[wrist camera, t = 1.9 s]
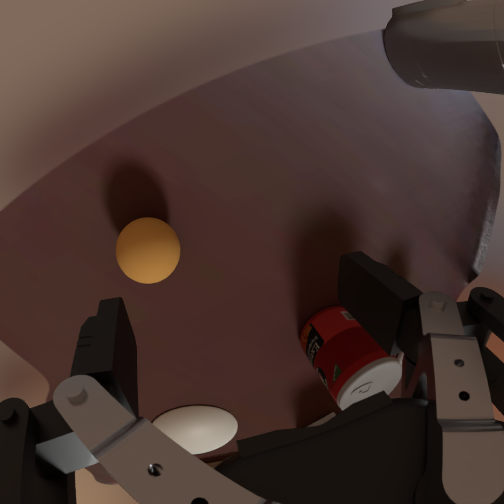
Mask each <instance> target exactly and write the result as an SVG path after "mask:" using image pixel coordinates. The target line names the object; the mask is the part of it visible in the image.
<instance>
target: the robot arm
mask: <svg viewBox="0 0 504 504" xmlns="http://www.w3.org/2000/svg"><path fill="white" fill-rule="evenodd" d="M392 13H393V14H392V18H391V19H390V21H389V22H388V24H387V26H386V29H385V36H384V39H385V48H386V53H387V56H388V58H389V61H390V63H391V65H392V67H393V69H394V70H395V71H396V73H397V74H398V75H399V77H401V78H402V79H403V80H404V81H405V82H406V83H408V84H409V85H411V86H414V87H417V88H428V89H453V90H465V91H476V92H485V93H494V94H501V95H504V0H471V1H467V0H424V1H420V2H416V3H412V4H408V5H404V6H400V7H396V8H393V9H392ZM338 298H339V301H340V303H341V305H342V306H343V307H344V308H345V309H346V310H347V311H348V312H349V314H350V315H351V316H352V317H353V318H354V319H355V320H356V321H357V322H358V323H359V324H360V325H361V326H362V327H363V328H364V329H365V330H366V332H367V333H368V334H369V335H370V336H371V337H372V338H373V339H374V340H375V341H376V342H377V343H378V344H379V345H380V347H381V348H382V349H383V350H384V351H385V352H386V353H387V354H388V355H389V356H393V355H395V354H397V353H400V352H403V353H404V356H403V359H402V386H401V398H394V399H391V398H390V397H389V396H388V395H387V394H386V392H385V391H384V390H383V391H381V392H379V393H376V394H374V395H372V396H370V397H367V398H365V399H363V400H360V401H358V402H355V403H353V404H351V405H350V406H349V407H347V408H346V409H344V410H343V411H341V412H340V413H339V414H337V415H336V416H334V417H333V418H331V419H330V420H328V421H327V422H325V423H324V424H321V425H318V426H311V427H303V428H294V429H283V430H275V431H272V432H268V433H265V434H261V435H257V436H254V437H250V438H246V439H242V440H238V441H236V442H237V447H238V452H237V453H235V454H233V455H231V456H229V457H228V458H226V459H225V460H223V461H222V462H221V463H219V464H218V465H217V466H216V467H214V468H211V467H210V466H208V465H207V464H205V463H204V462H202V461H201V460H200V459H198V458H197V457H195V456H194V455H192V454H191V453H190V452H188V451H187V450H185V449H184V448H183V447H181V446H180V445H179V444H177V443H176V442H175V441H173V440H172V439H171V438H170V437H168V436H167V435H166V434H164V433H163V432H162V431H161V430H159V429H158V428H157V427H156V426H154V425H153V424H152V423H151V422H149V421H148V420H147V419H145V418H144V417H139V410H138V386H137V346H136V341H135V336H134V333H133V330H132V327H131V324H130V321H129V318H128V314H127V311H126V308H125V305H124V302H123V299H122V298H121V297H118V298H112V299H106V300H101V301H100V303H99V308H98V312H97V316H93V317H89V318H88V319H87V320H86V321H85V323H84V324H83V325H82V327H81V330H80V334H79V339H78V342H77V348H76V351H75V355H74V360H73V364H72V369H71V374H70V378H68V379H66V380H64V381H63V382H62V383H60V384H59V386H58V387H57V388H56V390H55V392H54V395H53V400H52V401H49V402H47V403H44V404H42V405H38V406H36V407H33V408H29V407H28V405H27V404H26V403H25V402H24V401H23V400H22V399H19V398H9V399H6V400H4V401H2V402H1V403H0V504H76V489H75V471H76V470H79V469H82V468H84V467H87V466H90V465H93V464H95V463H98V462H99V463H100V464H101V465H102V466H103V468H104V469H105V470H106V471H107V472H108V473H109V474H110V475H111V476H112V477H113V478H114V479H115V480H116V482H117V483H118V484H119V485H120V486H121V487H122V488H123V489H124V490H125V491H126V492H127V493H128V494H129V495H130V496H131V497H132V498H134V499H135V500H136V501H137V502H138V503H139V504H504V422H502V421H498V420H495V419H494V414H493V408H492V403H493V404H494V405H495V406H496V408H497V409H498V410H499V411H500V412H501V413H502V414H503V415H504V363H503V362H502V361H501V360H500V359H499V358H498V357H497V356H496V355H494V354H493V353H492V352H491V351H490V350H489V349H488V348H487V347H486V344H487V342H488V339H489V337H490V335H491V332H493V333H494V334H495V335H496V336H498V337H499V338H500V339H501V340H502V341H503V342H504V298H503V297H502V296H501V295H499V294H498V293H496V292H495V291H493V290H491V289H488V288H484V287H476V288H474V289H472V290H471V292H470V295H469V299H468V301H464V302H455V301H454V300H453V299H452V298H451V297H450V296H448V295H446V294H444V293H440V292H433V291H432V292H426V293H423V292H421V291H420V290H419V289H417V288H416V287H415V286H413V285H412V284H411V283H409V282H408V281H407V280H405V279H404V278H401V276H400V275H399V274H397V273H395V272H394V271H393V270H392V269H390V268H389V267H388V266H386V265H384V264H381V263H379V262H376V261H374V260H373V259H371V258H370V257H369V256H367V255H366V254H364V253H363V252H361V251H358V252H353V253H349V254H344V255H342V256H341V258H340V265H339V279H338Z"/></svg>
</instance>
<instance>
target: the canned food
mask: <svg viewBox="0 0 504 504" xmlns="http://www.w3.org/2000/svg"><path fill="white" fill-rule="evenodd" d="M300 341H301V346H302V350H303V351H304V353H305V354H306V356H307V357H308V359H309V361H310V362H311V364H312V365H313V367H314V369H315V370H316V372H317V373H318V375H319V377H320V378H321V380H322V381H323V383H324V385H325V386H326V388H327V389H328V391H329V392H330V394H331V396H332V397H333V399H334V400H335V401H336V403H337V405H338V406H339V407H340V408H341V409H342V411H343V410H344V409H346V408H347V407H349V406H350V405H351V404H353V403H355V402H358V401H360V400H363V399H365V398H367V397H370V396H372V395H374V394H376V393H379V392H381V391H383V390H384V391H385V392H386V394H387V395H388V394H389V393H390V392H391V391H392V390H393V389H394V388H395V386H396V385H397V384H398V382H399V380H400V378H401V376H402V365H401V363H400V362H399V360H398V359H397V358H396V357H395V356H394V355H393V356H389V355H388V354H387V353H386V352H385V351H384V350H383V349H382V348H381V347H380V345H379V344H378V343H377V342H376V341H375V340H374V339H373V338H372V337H371V336H370V335H369V334H368V333H367V332H366V330H365V329H364V328H363V327H362V326H361V325H360V324H359V323H358V322H357V321H356V320H355V319H354V318H353V317H352V316H351V315H350V314H349V312H348V311H347V310H346V309H345V308H344V307H342V306H333V307H328V308H325V309H323V310H321V311H319V312H318V313H316V314H315V315H314V316H312V317H311V318H310V319H309V320H308V321H307V323H306V324H305V326H304V327H303V329H302V332H301V336H300Z"/></svg>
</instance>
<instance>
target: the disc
mask: <svg viewBox="0 0 504 504" xmlns="http://www.w3.org/2000/svg"><path fill="white" fill-rule="evenodd" d="M152 424H153V425H154V426H156V427H157V428H158V429H159V430H161V431H162V432H163V433H164V434H166V435H167V436H168V437H170V438H171V439H172V440H173V441H175V442H176V443H177V444H179V445H180V446H181V447H183V448H184V449H185V450H187V451H188V452H190V453H191V454H199V453H205V452H208V451H212V450H214V449H217V448H219V447H221V446H223V445H224V444H226V443H227V442H229V441H230V440H231V439H232V438H233V437H234V435H235V433H236V431H237V421H236V419H235V418H234V416H233V415H232V414H230V413H229V412H227V411H226V410H223V409H221V408H217V407H212V406H202V405H197V406H186V407H181V408H177V409H173V410H171V411H168V412H166V413H164V414H162V415H161V416H159V417H158V418H157V419H155V420H154V422H153V423H152Z"/></svg>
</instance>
